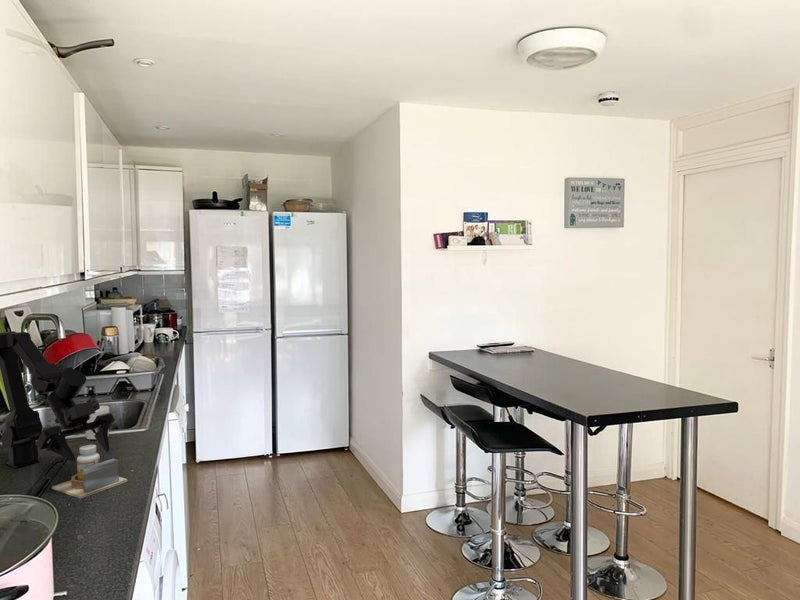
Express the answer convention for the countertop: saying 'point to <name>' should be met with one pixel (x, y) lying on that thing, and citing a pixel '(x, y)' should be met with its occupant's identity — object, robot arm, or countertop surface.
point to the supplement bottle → (86, 458)
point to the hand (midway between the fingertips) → (91, 455)
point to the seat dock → (93, 480)
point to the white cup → (92, 417)
